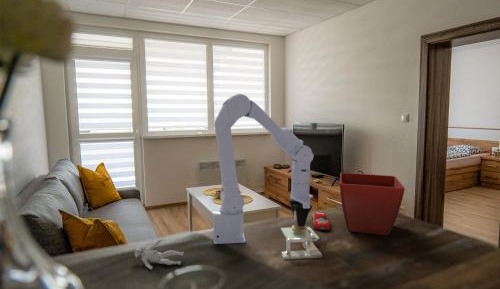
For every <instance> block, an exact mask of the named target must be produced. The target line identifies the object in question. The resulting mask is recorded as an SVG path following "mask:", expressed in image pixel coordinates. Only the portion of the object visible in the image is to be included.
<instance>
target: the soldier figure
mask: <svg viewBox="0 0 500 289" xmlns="http://www.w3.org/2000/svg"><path fill="white" fill-rule="evenodd" d="M162 241H163V239H159V240H157V241H156V242H155V243H154V244H152V245H151V246H147V247H145V249H144V250H142V249H140V248H136V249H135V251H134V257H135V258H136V259H138V256H141V260H142V262H143V263H144V265H145V267H146V268H148V269H149V270H152V269H153V265H151V264H150V263H149V261H150V262H151V263H156V264H160V265H161V264H162V265H168V266H171V265H179V266H180V265H181V263H182V261H179V260H178V261H174V260H171V259H169V258H168V257H170V256H181V257H183V256H184V254H185V252H184V251H182V252H180V251H175V250H173V249H172V250H171V249H169V250H166V251H164V252H159V251H158V250H157V249H155V248H157V247H158V245H159V244H161V242H162Z"/></svg>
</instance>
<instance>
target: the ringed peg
mask: <svg viewBox="0 0 500 289" xmlns="http://www.w3.org/2000/svg"><path fill="white" fill-rule="evenodd" d="M291 227H292V231H294V232H306V231H307V227H308V226H306V225H305V226H298V224H297V217H296V212H295V211H294V217H293V225H292V226H291Z"/></svg>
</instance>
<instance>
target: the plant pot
mask: <svg viewBox="0 0 500 289" xmlns="http://www.w3.org/2000/svg"><path fill="white" fill-rule="evenodd" d="M339 177H340V178H339V191H340V200H341V206H342V214H343V218H344V222H345V226H346V229H347V231H348V232H353V233H363V234H372V235H373V234H374V235H380V236H381V235H382V236H389V235H390V234H391V231H392V230H393V227H394V225H395V223H396V220H397V217H398V215H399V212H400V210H401V206H402V202H403V197H404V194H405V191H406V190H405V186H404V185H403V184H402V182H400V180H399V179H398V178H397V177H396V176H395V175H384V174H383V175H382V174H367V173H351V172H350V173H349V172H340V174H339Z"/></svg>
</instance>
